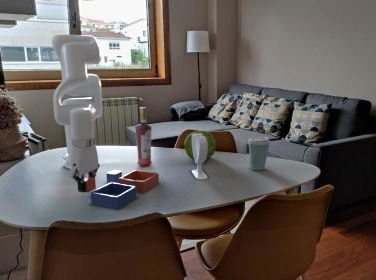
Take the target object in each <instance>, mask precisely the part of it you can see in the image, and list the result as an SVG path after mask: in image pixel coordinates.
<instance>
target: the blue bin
mask: <svg viewBox="0 0 376 280" xmlns="http://www.w3.org/2000/svg"><path fill="white" fill-rule="evenodd" d="M136 199H137V192H136V186H130V185H124V184H119V183H112V182H110V183H107V184H105V185H103V186H101V187H99V188H96V189H94V190H92V191H90V204H91V205H92V206H97V207H103V208H108V209H113V210H116V211H117V210H120V209H121V208H123V207H124V206H126V205H128V204H129V203H130V202H132V201H134V200H136Z"/></svg>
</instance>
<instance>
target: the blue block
mask: <svg viewBox="0 0 376 280" xmlns="http://www.w3.org/2000/svg"><path fill="white" fill-rule="evenodd" d="M105 174H106V183H107V184H108V183H110V182H112V183H118V184H119V178H120V177H122V176H123V171H122V170H116V169H112V170H110V171H108V172H106V173H105Z"/></svg>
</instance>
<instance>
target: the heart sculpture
mask: <svg viewBox="0 0 376 280" xmlns="http://www.w3.org/2000/svg"><path fill="white" fill-rule="evenodd" d="M192 150H193V155H194V159H193V160H194V163H195V164H196V169H192V170H191V173H192V175H193V176H194V177H195V178H196V179H197V180H207V179H208V176H207V175H206V173H205V172H204V171H203V170H202V169H203V168H202V167H203V165H202V164H204V163H205V161H206V160H207V159H206V158H207V151H208V143H207V139H206V137H205V136H203V135H202V133H199V134H192Z"/></svg>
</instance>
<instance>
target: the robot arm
mask: <svg viewBox="0 0 376 280" xmlns="http://www.w3.org/2000/svg"><path fill="white" fill-rule="evenodd" d="M51 45H52V48H53V51H54V52H55V56H56V57H57V59H58V61H59V63H60V69H61V70H60V71H61V72H60V73H61V82H60V83H59V84H58V86H57V87H56V89H55V90H54V92H53V97H52V106H53V116H54V121H55V122H56V123H57V124H58V125H60V126H64V132H65V143H66V151H67V153H66V154H64V155H63V156H62V158H61V159H62V160H64V161H66V162H65V163H64V167H65V168H66V169H68V170H69V172H70V175H69V178H70V179H72V180H74V181H75V182H76V183H77V192H79V193H84V194H85V193H86V184H85V182H84V177H85V176H86V175H87V176H88V177H94V178H95V179H96V178H97V173H98V170H99V169H100V167H101V166H100V165H101V164H100V163H99V155H98V150H97V149H98V148H97V145H96V142H95V139H96V138H95V130H94V128H95V127H94V123H95V121H96V120H97V119H99V118H101V117H102V116H103V111H104V110H103V107H104V106H103V92H102V91H103V90H102V83H101V79H100V77H99V76H98V74H93V73H88V69H87V65H98V64H100V63H101V60H102V50H101V47H100V44H99V41H98V39H97V38H96V37H95V36H93V35H86V34H85V35H83V34H82V35H81V34H57V35H54V36H53V37H52V38H51ZM65 95H67V96H71V98H66V99H63V101H62V98H63V97H64V96H65ZM72 96H73V97H72ZM79 96H81V97H79ZM82 96H90V97H82ZM96 183H97V182H95V184H96Z"/></svg>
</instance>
